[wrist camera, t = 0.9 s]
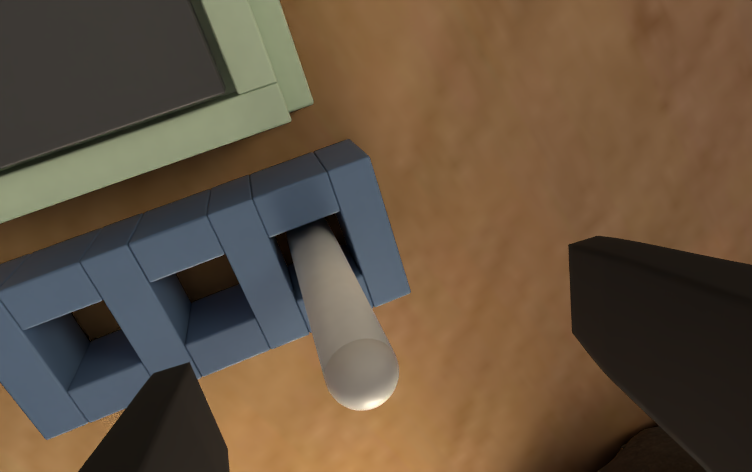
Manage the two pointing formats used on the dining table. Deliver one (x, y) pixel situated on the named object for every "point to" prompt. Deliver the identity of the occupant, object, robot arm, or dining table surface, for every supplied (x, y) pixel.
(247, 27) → the pale green stepped tray
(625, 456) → the stone bowl
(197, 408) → the robot arm
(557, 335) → the dining table surface
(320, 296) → the white rounded rod
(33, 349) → the pen rack
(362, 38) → the dining table surface
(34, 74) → the screen
